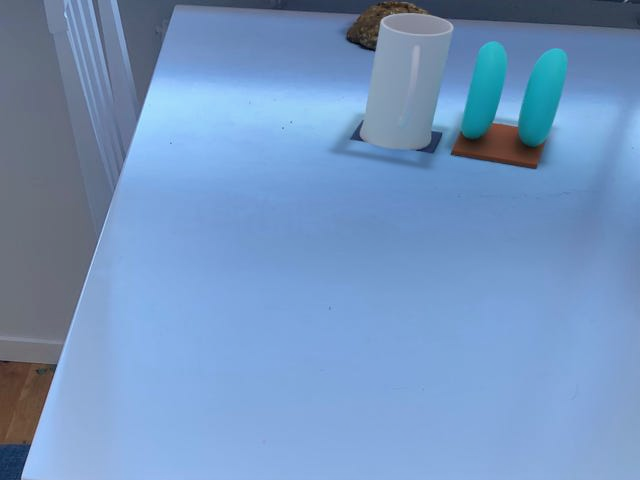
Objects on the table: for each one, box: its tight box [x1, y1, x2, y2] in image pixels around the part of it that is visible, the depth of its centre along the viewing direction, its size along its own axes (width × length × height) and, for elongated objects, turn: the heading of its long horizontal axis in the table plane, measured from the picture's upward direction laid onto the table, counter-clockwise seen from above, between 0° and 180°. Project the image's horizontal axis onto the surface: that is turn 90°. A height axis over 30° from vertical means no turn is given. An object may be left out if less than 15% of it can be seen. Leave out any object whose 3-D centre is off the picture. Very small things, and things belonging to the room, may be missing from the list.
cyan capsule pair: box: [460, 41, 569, 147], centre depth 110 cm, size 10×10×10 cm
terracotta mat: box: [450, 122, 547, 170], centre depth 114 cm, size 10×11×1 cm
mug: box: [360, 13, 454, 152], centre depth 108 cm, size 12×8×12 cm
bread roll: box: [345, 0, 433, 51], centre depth 138 cm, size 13×12×5 cm
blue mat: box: [349, 119, 443, 154], centre depth 113 cm, size 10×12×1 cm
